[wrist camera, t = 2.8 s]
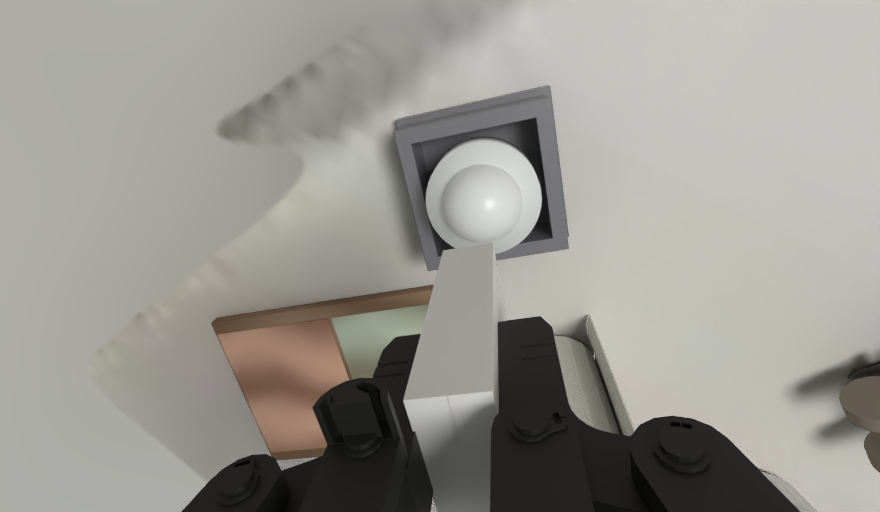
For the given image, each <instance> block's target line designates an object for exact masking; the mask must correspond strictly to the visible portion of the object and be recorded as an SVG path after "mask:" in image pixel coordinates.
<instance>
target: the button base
mask: <svg viewBox="0 0 880 512" xmlns="http://www.w3.org/2000/svg"><path fill="white" fill-rule="evenodd" d="M396 125H397V129H398V130H396V131H395V132H394V136H395V140H396V144H397V149H398V153H399V157H400V161H401V165H402V169H403V173H404V177H405V181H406V185H407V189H408V193H409V197H410V201H411V205H412V209H413V213H414V217H415V221H416V225H417V229H418V233H419V237H420V241H421V245H422V249H423V253H424V257H425V261H426V265H427V269H428V271H432V270H438V268H439V264H440V260H441V257H442V253H443V250H449V249H455V248H454V247H452V246H451V245H449V244H448V243H447V242H445V241H444V240H443V239H442V238H441V237H440V236H439V234H438V233H437V232H436V231H435V229H434V227H433V226H432V224H431V222H430V219H429V216H428V213H427V208H426V190H427V186H428V182H429V180H430V177H431V175H432V173H433V172H434V170H435V168H436V166H437V165H438V163H439V161H440V160H441V158H442V157H443V156H444V155H445V153H446V152H447V151H448V150H450V149H451V148H452V147H453V146H455V145H456V144H458V143H460V142H462V141H464V140H467V139H470V138H474V137H481V136H489V137H496V138H500V139H503V140H506V141H508V142H510V143H512V144H513V145H515V146H516V147H518V148H519V149H520V150H521V151H522V152H523V153H524V154H525V155H526V156H527V158H528V159H529V160H530V162H531V164H532V166H533V168H534V170H535V173H536V175H537V178H538V181H539V183H540V188H541V195H542V203H541V210H540V214H539V217H538V220H537V222H536V224H535V226H534V228H533V229H532V231H531V232H530V233H529V234H528V236H527V237H526V238H525V239H524V240H523V241H521V242H520V243H519V244H517V245H516V246H514V247H513V248H511V249H509V250H507V251H504V252H501V253H497V254H495V256H496V260H501V259H508V258H514V257H520V256H526V255H533V254H539V253H545V252H552V251H558V250H564V249H569V246H568V238H567V237H568V236H569V234H568V226H567V218H566V210H565V201H564V193H563V185H562V177H561V169H560V161H559V153H558V145H557V137H556V129H555V121H554V112H553V104H552V96H551V88H550V86H549V85H548V86H543V87H539V88H534V89H530V90H525V91H521V92H516V93H512V94H507V95H503V96H498V97H494V98H489V99H485V100H480V101H476V102H471V103H467V104H462V105H458V106H453V107H449V108H444V109H440V110H435V111H431V112H426V113H422V114H417V115H413V116H408V117H404V118H399V119H397V120H396Z"/></svg>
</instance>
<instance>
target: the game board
mask: <svg viewBox="0 0 880 512" xmlns="http://www.w3.org/2000/svg"><path fill="white" fill-rule="evenodd" d="M433 287H434V285H430V286H424V287H417V288H410V289H404V290H397V291H391V292H384V293H378V294H371V295H365V296H358V297H351V298H345V299H338V300H332V301H325V302H319V303H312V304H305V305H299V306H292V307H286V308H279V309H273V310H266V311H259V312H253V313H246V314H240V315H233V316H227V317H220V318H216V319H215V320H214V321H213V322H212V323H211V324H212V326H213V328H214V331H215V333H216V335H217V337H218V339H219V342H220V344H221V346H222V348H223V350H224V353H225V355H226V357H227V359H228V361H229V364H230V366H231V368H232V370H233V372H234V375H235V377H236V379H237V381H238V383H239V386H240V388H241V390H242V392H243V394H244V397H245V399H246V401H247V403H248V405H249V408H250V410H251V412H252V414H253V416H254V418H255V421H256V423H257V425H258V427H259V429H260V432H261V434H262V436H263V438H264V440H265V443H266V445H267V447H268V449H269V451H270V454H271V456H272V457H273V458H275V459H276V460H286V459H298V458H310V457H320V456H323V454H324V451H325V449H326V447H327V443H326V440H325V438H324V435H323V433H322V430H321V428H320V426H319V423H318V421H317V418H316V416H315V413H314V411H313V408H312V407H313V406H314V404H315V403H316V402H317V400H318V399H319V398H320V397H321V396H322V395H323V394H324V393H326V392H327V391H328V390H330V389H331V388H332V387H335V386H337V385H339V384H341V383H343V382H345V381H348V380H353V379H357V378H373V374H374V372H375V369H376V367H377V364H378V361H379V358H380V356H381V353H382V351H383V349H384V348H385V347H386V346H387V345H388V344H389V343H390V342H391V341H392V340H393V339H394V338H395V337H399V336H406V335H414V334H421V332H422V328H423V324H424V320H425V317H426V313H427V309H428V305H429V302H430V298H431V294H432V290H433Z"/></svg>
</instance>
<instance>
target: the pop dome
mask: <svg viewBox="0 0 880 512" xmlns="http://www.w3.org/2000/svg"><path fill="white" fill-rule="evenodd" d="M541 203H542V195H541V188H540V183H539V181H538V178H537V175H536V173H535V170H534V168H533V166H532V164H531V162H530V160H529V159H528V158H527V156H526V155H525V154H524V153H523V152H522V151H521V150H520V149H519V148H518V147H516V146H515V145H513V144H512V143H510V142H508V141H506V140H503V139H500V138H496V137H489V136H481V137H474V138H470V139H467V140H464V141H462V142H460V143H458V144H456V145H455V146H453V147H452V148H451V149H450V150H448V151H447V152H446V153H445V155H444V156H443V157H442V158H441V160H440V161H439V163H438V165H437V166H436V168H435V170H434V172H433V173H432V175H431V177H430V180H429V182H428V186H427V190H426V208H427V213H428V216H429V219H430V222H431V224H432V226H433V227H434V229H435V231H436V232H437V233H438V234H439V236H440V237H441V238H442V239H443V240H444V241H445V242H447V243H448V244H449V245H451V246H452V247H454V248H461V247H467V246H473V245H479V244H485V243H491V242H493V245H494V250H495V254H497V253H501V252H504V251H507V250H509V249H511V248H513V247H514V246H516V245H517V244H519V243H520V242H521V241H523V240H524V239H525V238H526V237H527V236H528V234H529V233H530V232H531V231H532V229H533V228H534V226H535V224H536V222H537V220H538V217H539V214H540V210H541Z"/></svg>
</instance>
